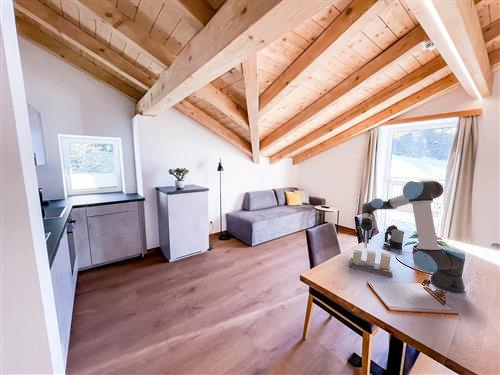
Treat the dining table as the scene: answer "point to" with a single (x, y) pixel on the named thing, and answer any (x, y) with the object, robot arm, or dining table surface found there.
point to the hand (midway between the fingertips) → (365, 247)
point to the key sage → (357, 257)
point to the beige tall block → (385, 261)
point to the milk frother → (394, 239)
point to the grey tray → (371, 268)
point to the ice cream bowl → (391, 229)
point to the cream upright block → (370, 258)
